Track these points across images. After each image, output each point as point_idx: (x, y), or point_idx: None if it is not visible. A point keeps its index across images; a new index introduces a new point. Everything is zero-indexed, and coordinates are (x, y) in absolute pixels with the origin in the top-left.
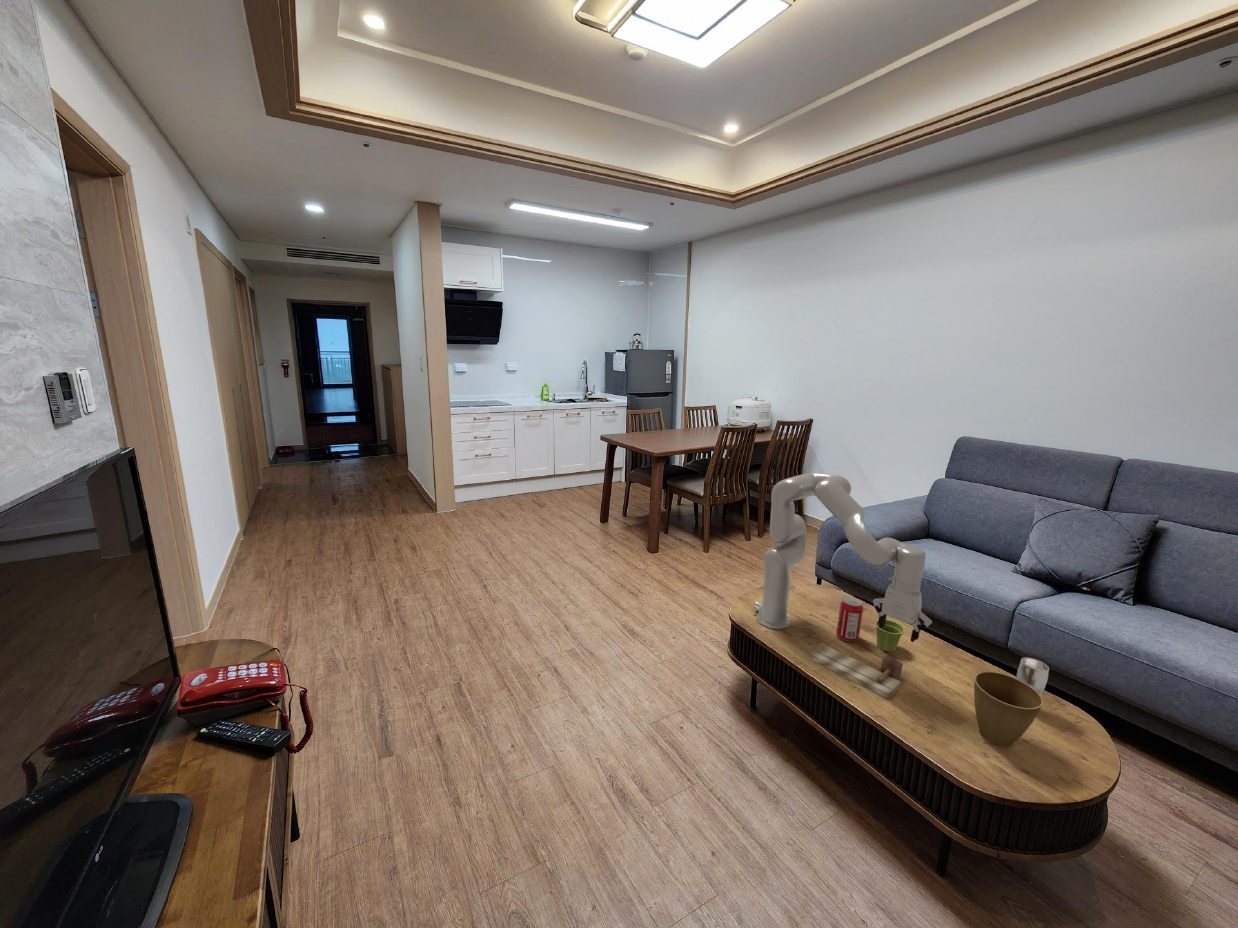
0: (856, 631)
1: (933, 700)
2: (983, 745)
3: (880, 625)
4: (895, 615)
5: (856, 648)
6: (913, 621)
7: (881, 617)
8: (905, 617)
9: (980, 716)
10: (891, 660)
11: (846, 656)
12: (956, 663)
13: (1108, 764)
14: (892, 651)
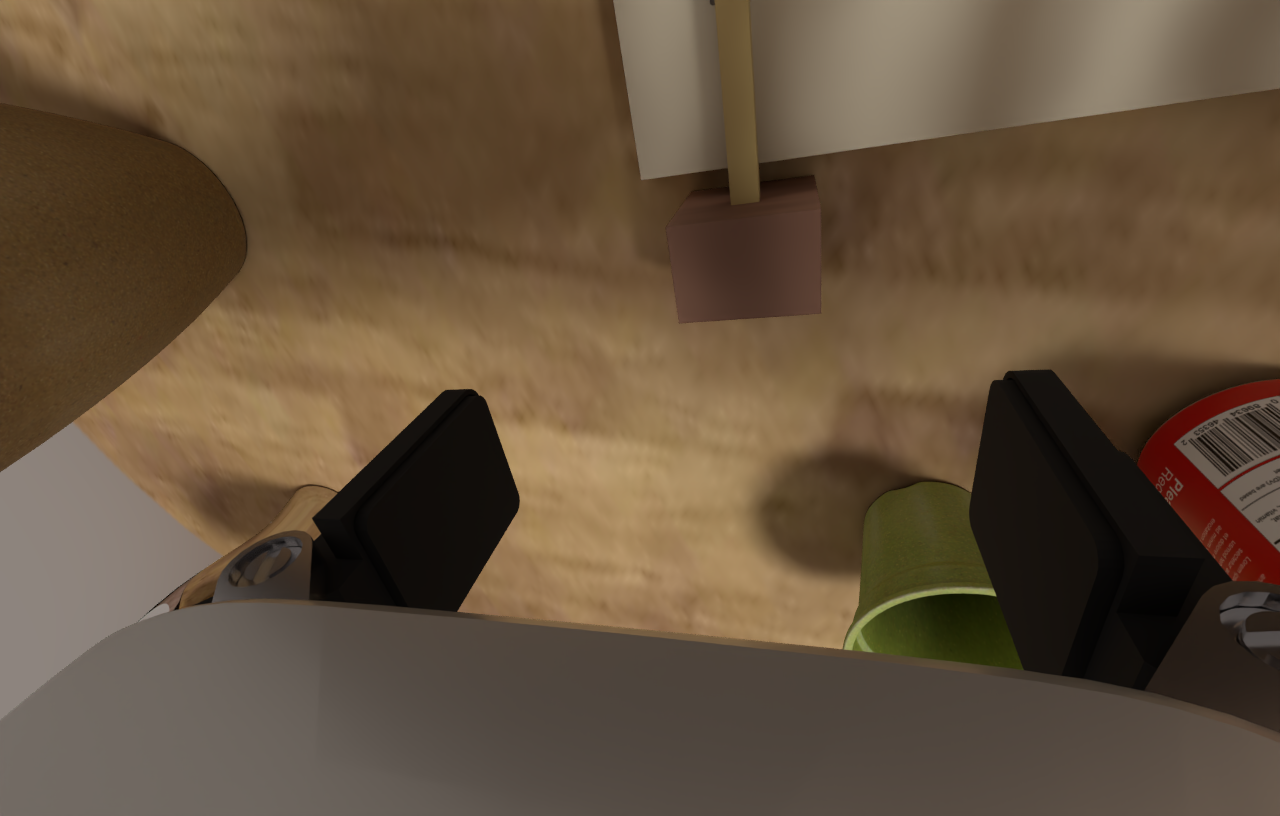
0: (1216, 488)
1: (473, 235)
2: (131, 76)
3: (1038, 395)
4: (607, 773)
5: (1110, 363)
6: (3, 721)
7: (1163, 551)
8: (152, 810)
9: (14, 116)
10: (757, 274)
11: (1183, 81)
12: (613, 613)
13: None
14: (870, 506)
